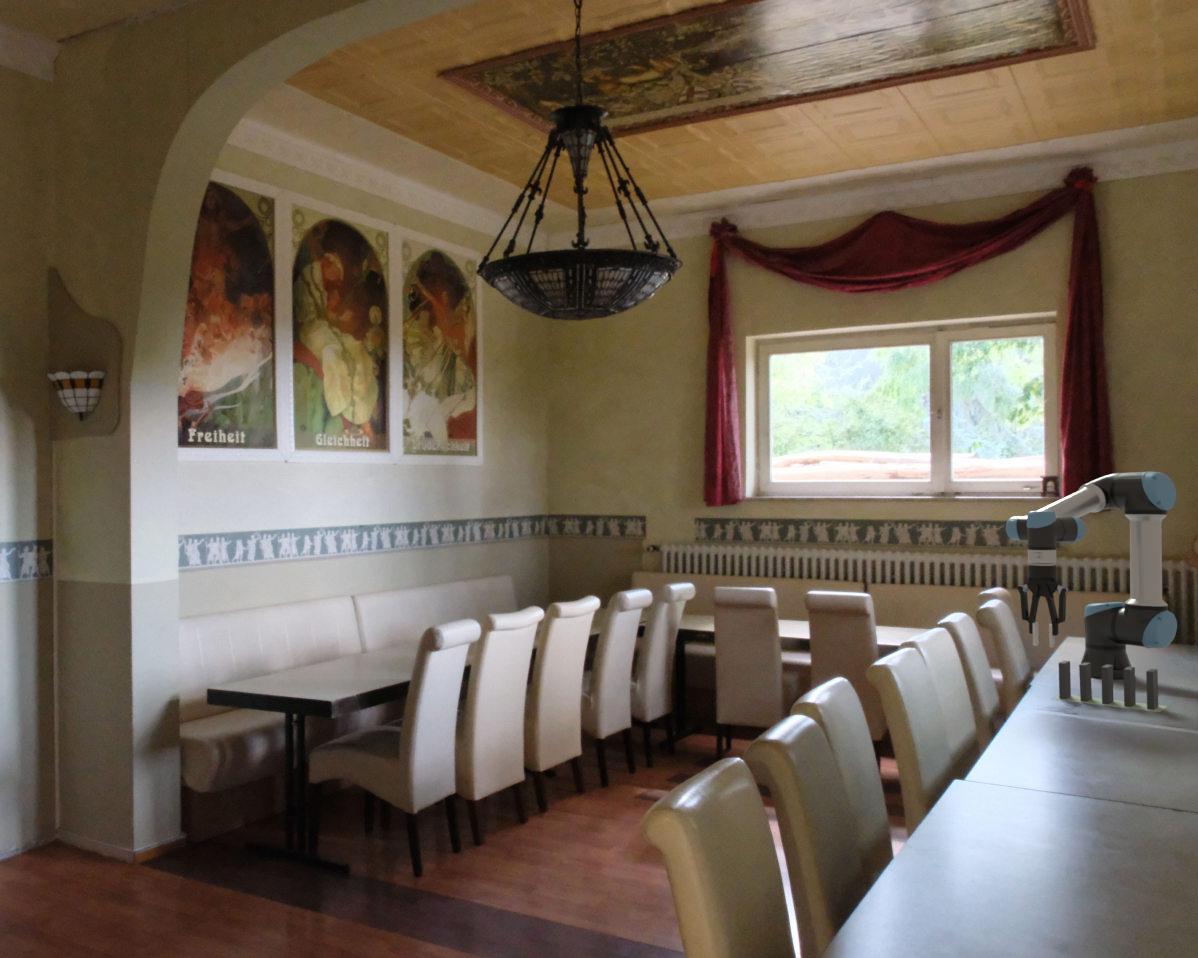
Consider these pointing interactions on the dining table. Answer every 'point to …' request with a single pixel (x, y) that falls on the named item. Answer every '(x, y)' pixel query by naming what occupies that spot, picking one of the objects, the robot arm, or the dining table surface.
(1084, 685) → the domino
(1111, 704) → the strip
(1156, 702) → the domino
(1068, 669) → the domino
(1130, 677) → the domino
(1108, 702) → the domino
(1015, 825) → the dining table surface
